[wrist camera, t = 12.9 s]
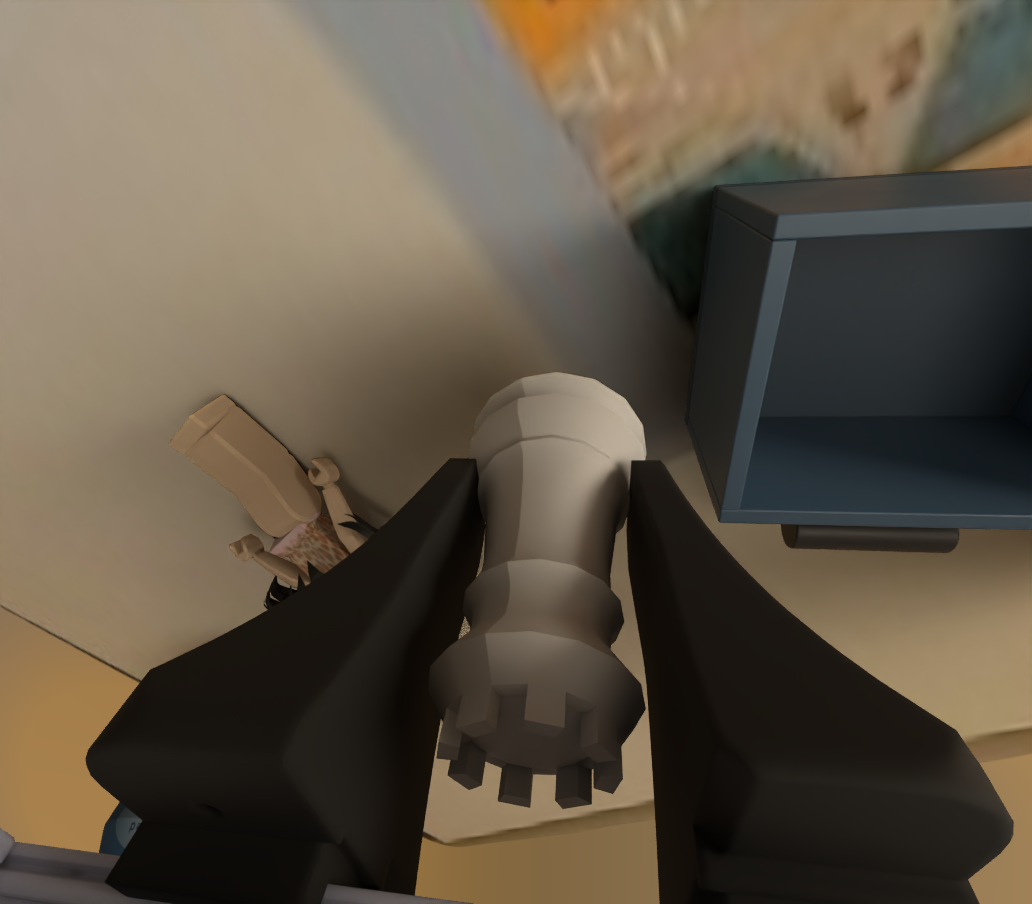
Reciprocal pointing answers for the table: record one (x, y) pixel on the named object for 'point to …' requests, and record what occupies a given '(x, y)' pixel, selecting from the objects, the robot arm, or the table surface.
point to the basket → (868, 358)
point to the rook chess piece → (544, 596)
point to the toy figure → (274, 496)
